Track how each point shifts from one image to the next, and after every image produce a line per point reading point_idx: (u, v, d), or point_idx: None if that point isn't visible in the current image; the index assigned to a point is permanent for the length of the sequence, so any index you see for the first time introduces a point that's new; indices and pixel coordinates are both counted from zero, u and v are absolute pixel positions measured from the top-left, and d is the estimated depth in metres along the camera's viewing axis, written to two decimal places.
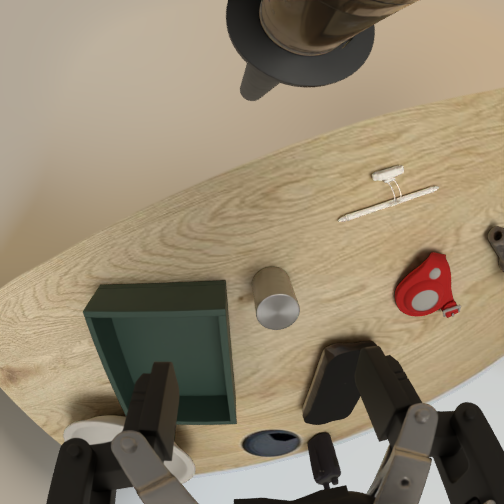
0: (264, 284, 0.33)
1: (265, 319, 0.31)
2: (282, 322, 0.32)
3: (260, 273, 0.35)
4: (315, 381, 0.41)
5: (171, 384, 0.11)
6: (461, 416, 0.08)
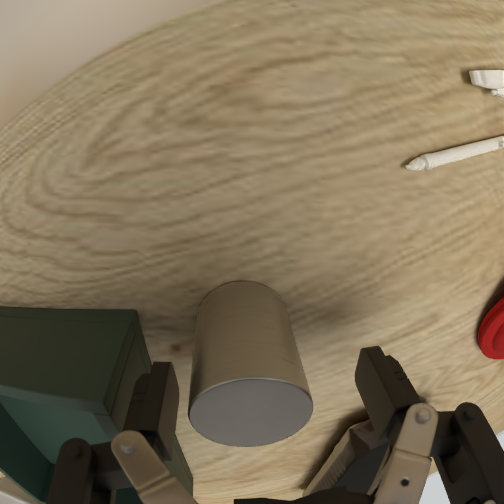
0: (216, 333, 0.11)
1: (216, 430, 0.10)
2: (264, 435, 0.10)
3: (213, 298, 0.14)
4: (327, 473, 0.20)
5: (171, 384, 0.11)
6: (461, 416, 0.08)
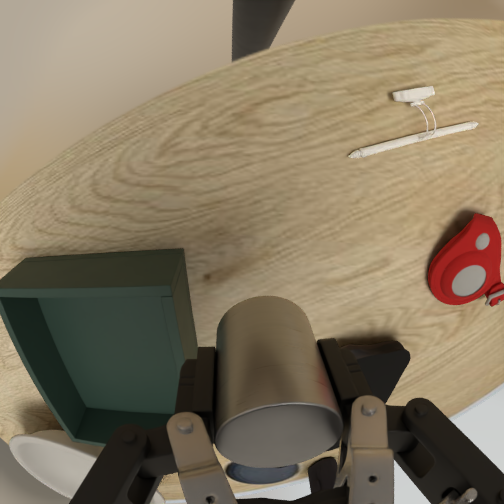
0: (242, 353, 0.11)
1: (243, 453, 0.09)
2: (291, 456, 0.10)
3: (235, 314, 0.13)
4: None
5: (215, 368, 0.12)
6: (412, 411, 0.08)
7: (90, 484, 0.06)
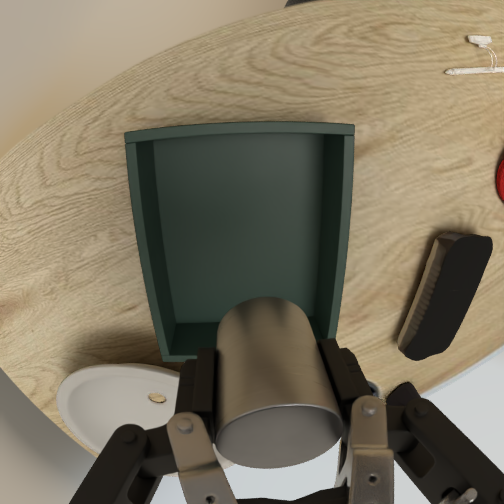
0: (243, 355, 0.11)
1: (243, 454, 0.09)
2: (291, 457, 0.10)
3: (235, 315, 0.13)
4: (424, 287, 0.30)
5: (215, 368, 0.12)
6: (412, 411, 0.08)
7: (90, 484, 0.06)
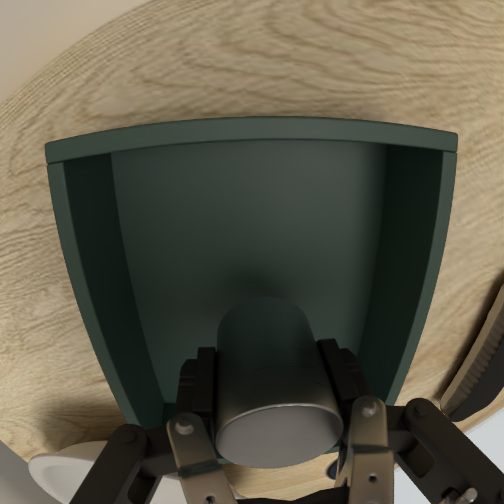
0: (243, 354, 0.11)
1: (243, 454, 0.09)
2: (291, 457, 0.10)
3: (235, 315, 0.13)
4: (484, 345, 0.20)
5: (215, 368, 0.12)
6: (412, 411, 0.08)
7: (90, 484, 0.06)
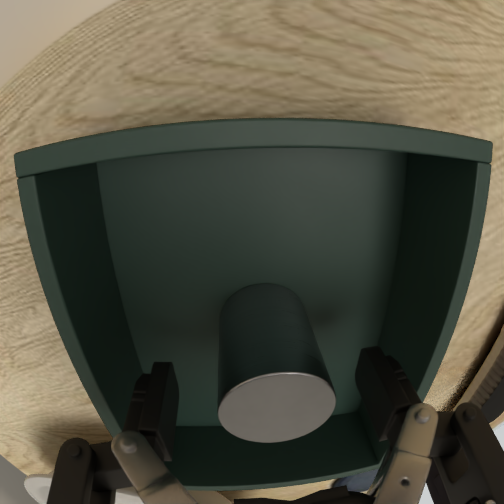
0: (243, 332, 0.12)
1: (243, 426, 0.11)
2: (288, 430, 0.11)
3: (237, 300, 0.14)
4: (497, 360, 0.18)
5: (171, 384, 0.11)
6: (461, 416, 0.08)
7: None
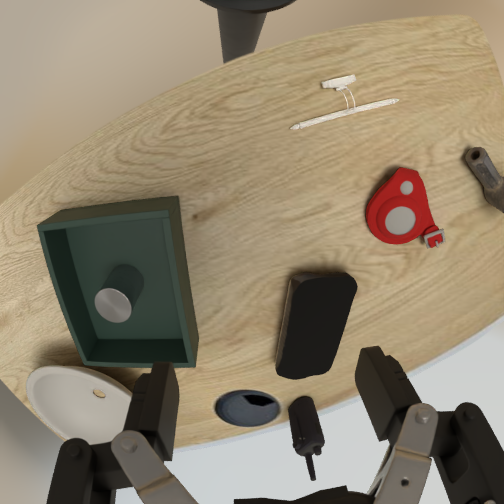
0: (107, 279, 0.33)
1: (104, 312, 0.31)
2: (119, 315, 0.32)
3: (113, 270, 0.35)
4: (284, 319, 0.39)
5: (171, 384, 0.11)
6: (461, 416, 0.08)
7: None
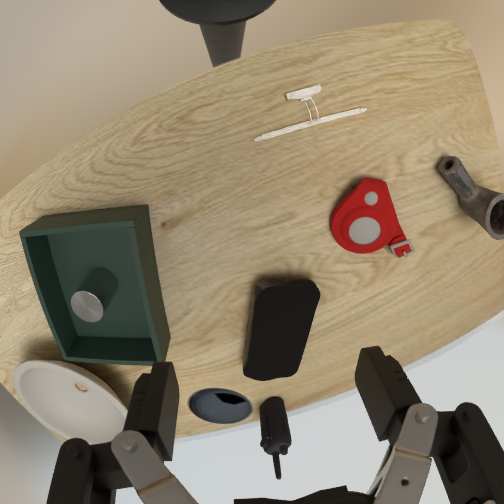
0: (83, 282, 0.34)
1: (79, 312, 0.33)
2: (92, 316, 0.33)
3: (89, 273, 0.37)
4: (249, 323, 0.40)
5: (171, 384, 0.11)
6: (461, 416, 0.08)
7: None
